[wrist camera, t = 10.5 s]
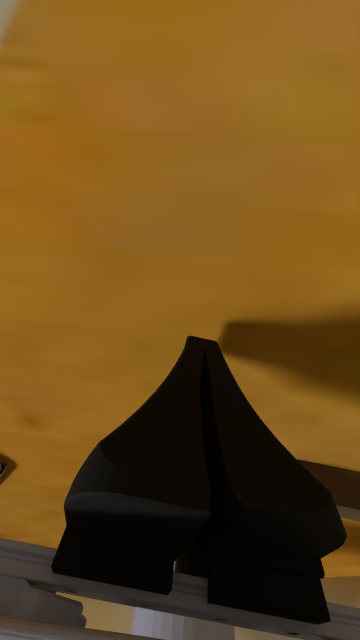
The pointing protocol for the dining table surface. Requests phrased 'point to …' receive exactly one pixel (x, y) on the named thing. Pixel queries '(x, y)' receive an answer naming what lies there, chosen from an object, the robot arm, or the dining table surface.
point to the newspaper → (2, 470)
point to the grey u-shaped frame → (339, 488)
